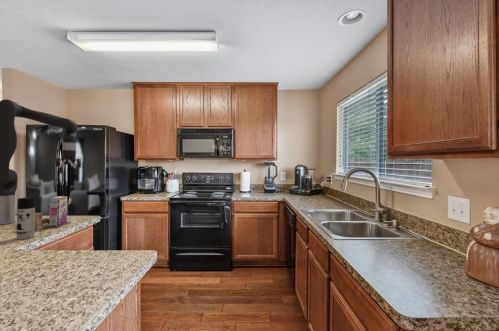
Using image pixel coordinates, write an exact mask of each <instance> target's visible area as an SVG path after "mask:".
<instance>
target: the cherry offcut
mask: <svg viewBox="0 0 499 331" xmlns="http://www.w3.org/2000/svg"><path fill="white" fill-rule="evenodd" d="M42 219H43V212H35V223H36V222H39V221H42Z"/></svg>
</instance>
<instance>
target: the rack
mask: <svg viewBox="0 0 499 331" xmlns="http://www.w3.org/2000/svg"><path fill="white" fill-rule="evenodd" d="M44 223H45V224H49V218H47V217H45V218H42V225H45V224H44ZM36 232H38V224H35V233H36Z"/></svg>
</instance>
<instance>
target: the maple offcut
mask: <svg viewBox="0 0 499 331" xmlns="http://www.w3.org/2000/svg"><path fill="white" fill-rule="evenodd" d="M35 224H38V230H41V228H42V229H43V224H42V221H39V222H36V223H35Z"/></svg>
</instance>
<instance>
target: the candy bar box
mask: <svg viewBox="0 0 499 331" xmlns="http://www.w3.org/2000/svg"><path fill="white" fill-rule="evenodd" d="M48 217H49V223H48V226H59V225H61V224H63V223H65V222H68V220H67V218H68V196H67V195H64V196H63V195H61V196H55V197H50V198H49V216H48Z"/></svg>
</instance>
